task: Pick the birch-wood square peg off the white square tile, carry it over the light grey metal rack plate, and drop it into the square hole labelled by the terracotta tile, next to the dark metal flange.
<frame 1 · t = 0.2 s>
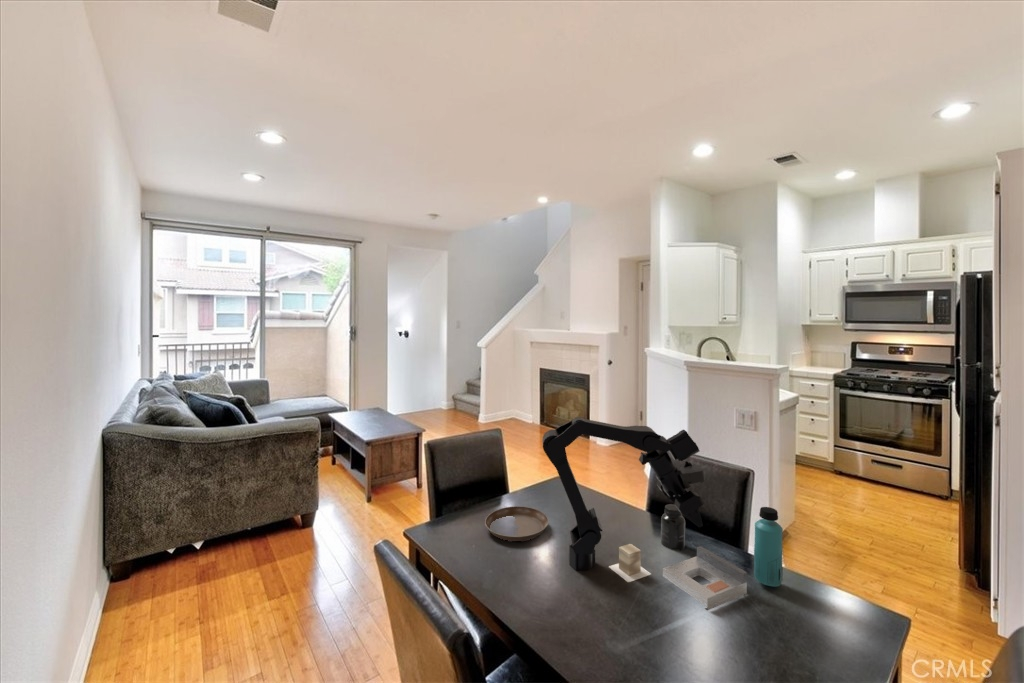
hand: (693, 518, 120), 14 cm above the table, tool tilted 30°, fingers open, 9 cm apart
white square tile: (629, 573, 119), on the table
supplement bottle: (672, 546, 133), on the table
beverage bottle: (767, 585, 114), on the table
birch peg: (629, 570, 119), point 1 cm above the table, touching white square tile
plant saucer: (516, 530, 145), on the table
rack plate: (703, 586, 113), on the table
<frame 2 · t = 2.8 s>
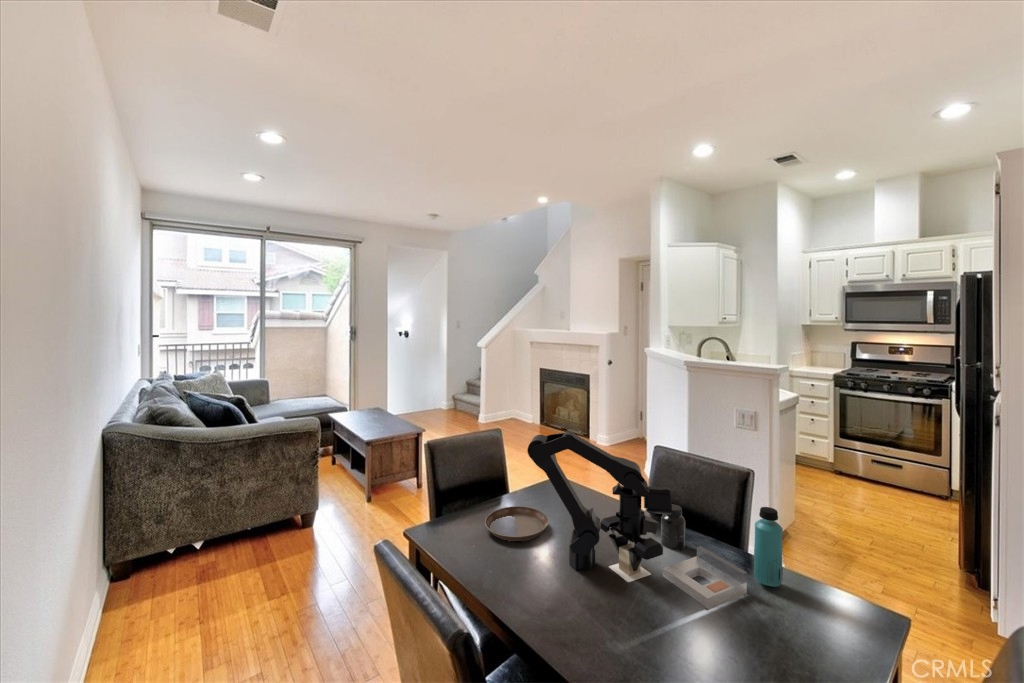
hand: (629, 566, 119), 2 cm above the table, tool pointing down, fingers closed on birch peg, 4 cm apart
birch peg: (629, 570, 119), point 1 cm above the table, touching gripper, white square tile
everything else where it was.
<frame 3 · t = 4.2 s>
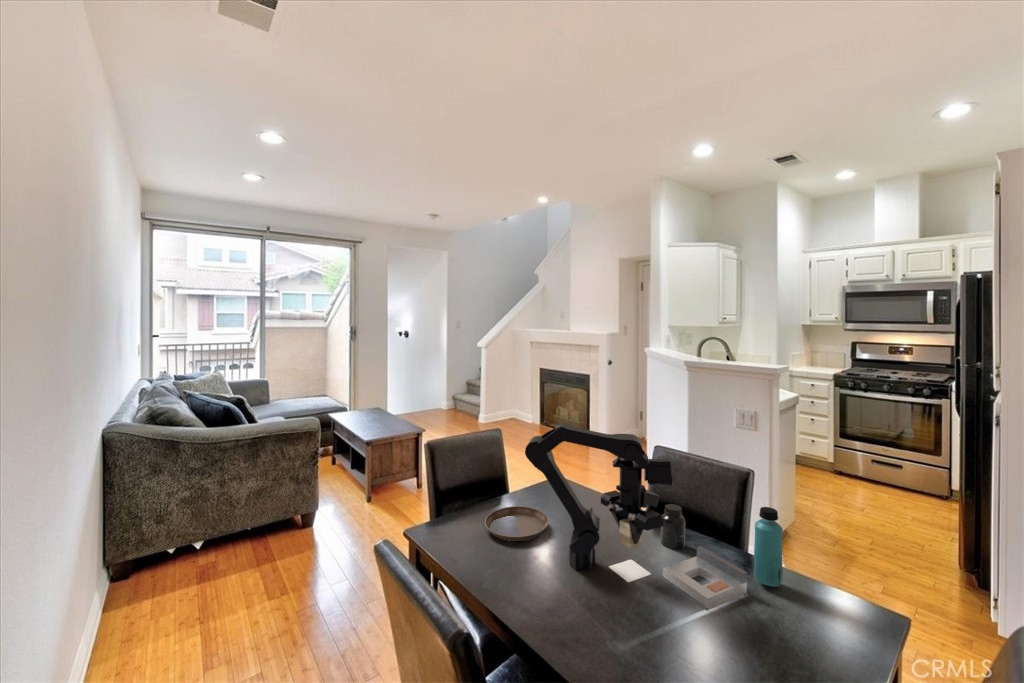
hand: (630, 539, 119), 9 cm above the table, tool pointing down, fingers closed on birch peg, 4 cm apart
birch peg: (630, 543, 119), point 8 cm above the table, touching gripper
everything else where it was.
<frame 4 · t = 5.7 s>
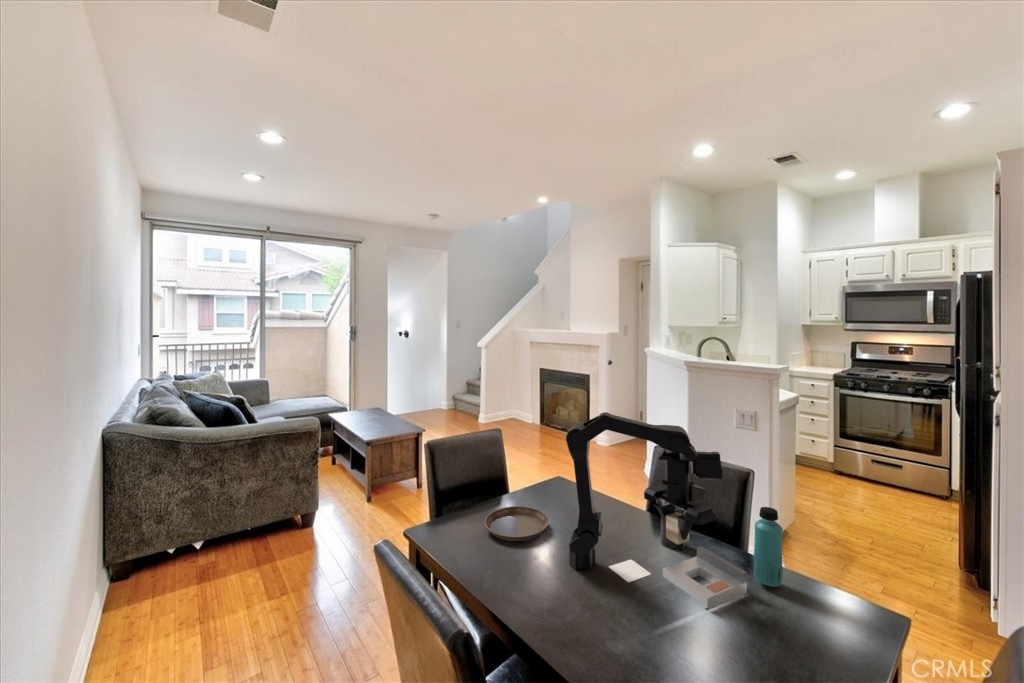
hand: (677, 535, 114), 13 cm above the table, tool pointing down, fingers closed on birch peg, 4 cm apart
birch peg: (677, 539, 114), point 12 cm above the table, touching gripper
everything else where it was.
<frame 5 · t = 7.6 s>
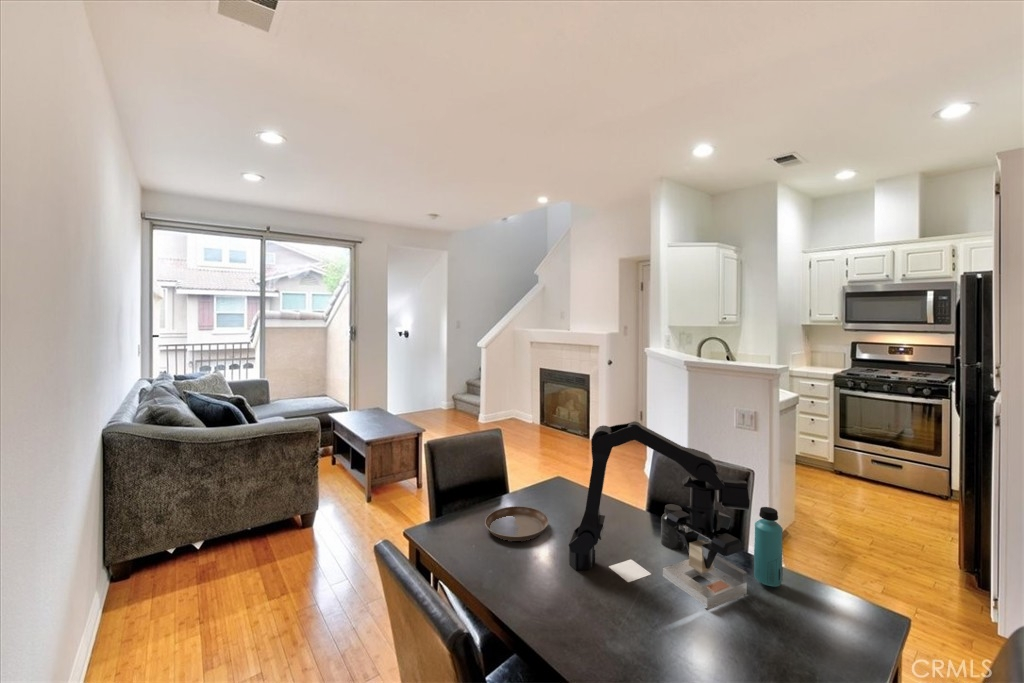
hand: (700, 563, 113), 6 cm above the table, tool pointing down, fingers closed on birch peg, 4 cm apart
birch peg: (700, 567, 113), point 5 cm above the table, touching gripper
everything else where it was.
when the fingers open (5 cm above the table, at t = 9.0 s): birch peg drops 4 cm, resting in rack plate.
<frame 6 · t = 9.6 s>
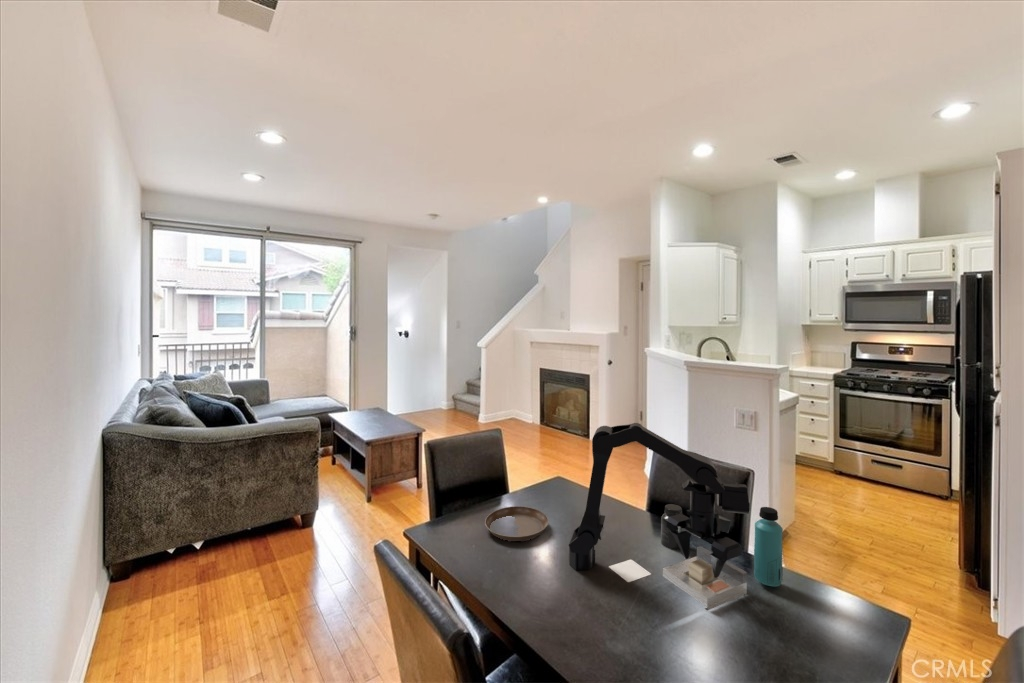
hand: (701, 567, 113), 5 cm above the table, tool pointing down, fingers open, 9 cm apart
birch peg: (700, 587, 113), resting in rack plate
everything else where it was.
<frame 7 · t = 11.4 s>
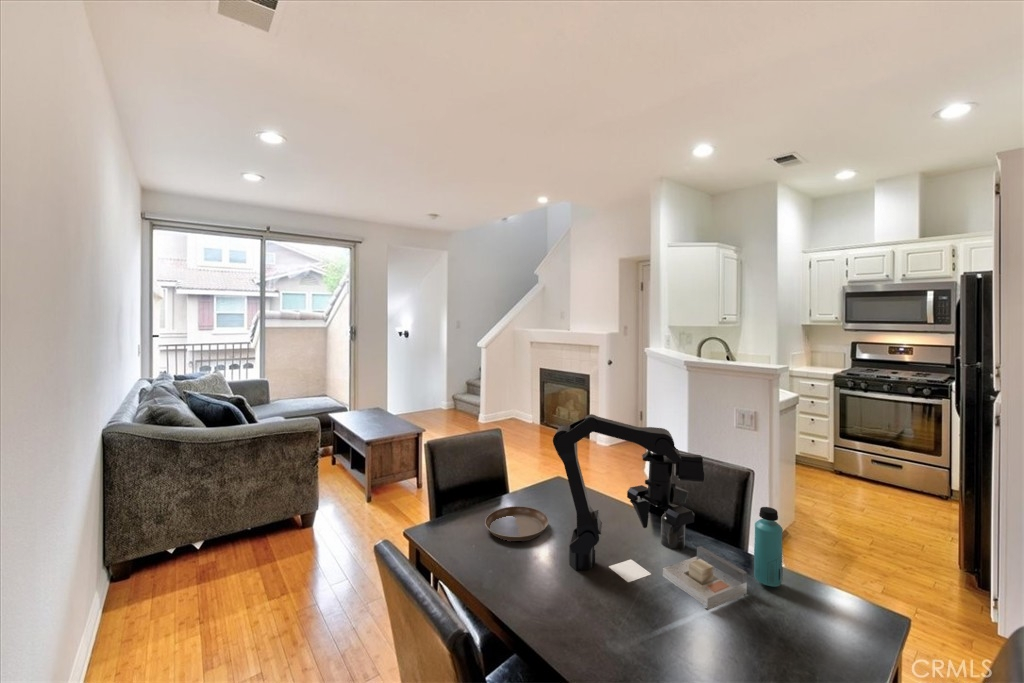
hand: (657, 535, 117), 11 cm above the table, tool pointing down, fingers open, 9 cm apart
nothing on the table moved.
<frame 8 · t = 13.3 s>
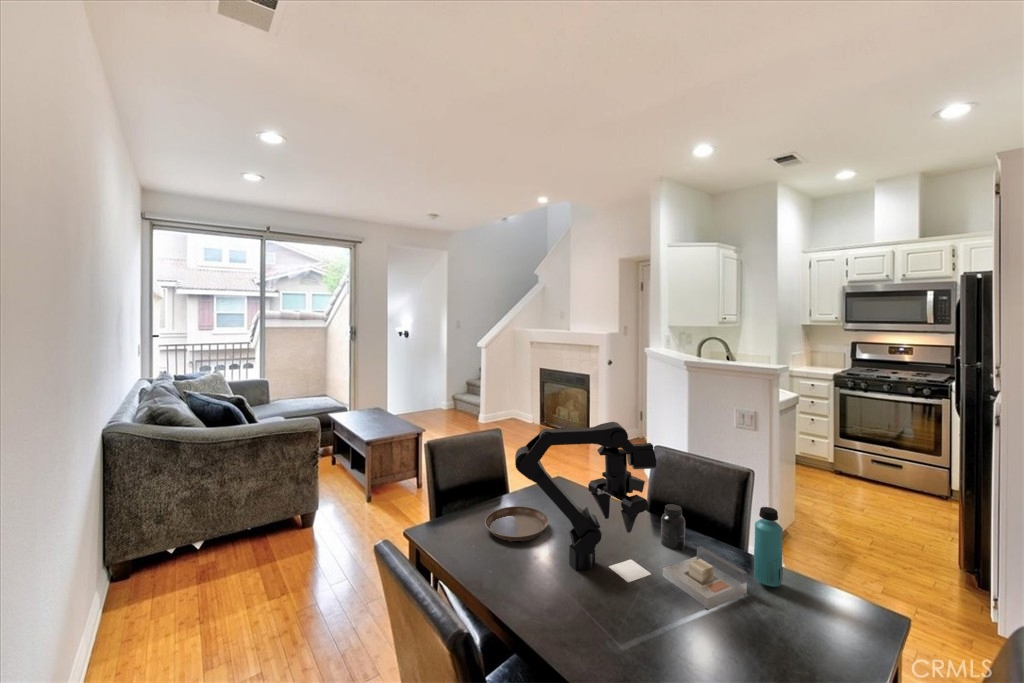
hand: (617, 525, 121), 12 cm above the table, tool pointing down, fingers open, 9 cm apart
nothing on the table moved.
at the end: birch peg 0.0 cm from the target spot on the rack plate, point 0.0 cm above the rack plate's base; birch peg tilted 0°; the gripper is holding nothing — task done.
